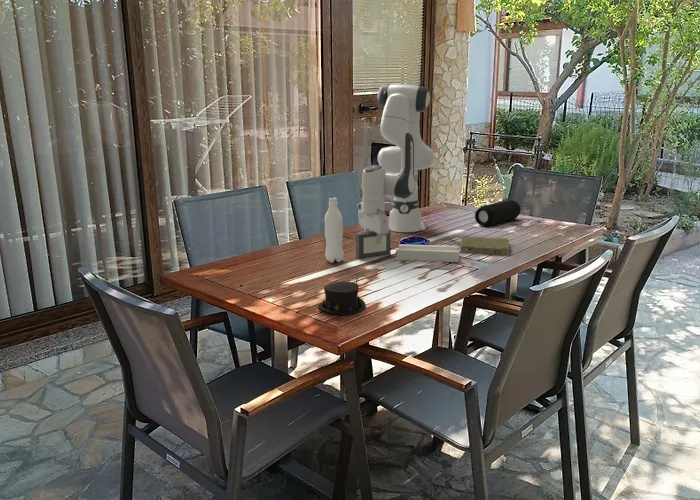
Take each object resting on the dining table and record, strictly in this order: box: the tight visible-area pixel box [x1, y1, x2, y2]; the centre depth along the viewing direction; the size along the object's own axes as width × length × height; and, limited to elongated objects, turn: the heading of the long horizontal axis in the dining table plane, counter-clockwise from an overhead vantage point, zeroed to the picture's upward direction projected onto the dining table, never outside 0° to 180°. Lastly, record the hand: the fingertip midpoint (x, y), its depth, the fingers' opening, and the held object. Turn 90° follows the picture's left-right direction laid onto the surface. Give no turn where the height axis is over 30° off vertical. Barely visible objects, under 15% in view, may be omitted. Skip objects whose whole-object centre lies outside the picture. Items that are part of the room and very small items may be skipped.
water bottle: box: [323, 197, 345, 263], centre depth 242 cm, size 7×7×25 cm
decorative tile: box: [459, 235, 510, 256], centre depth 259 cm, size 19×20×4 cm
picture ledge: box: [396, 243, 460, 263], centre depth 247 cm, size 9×24×4 cm, turn 79°
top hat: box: [317, 274, 367, 316], centre depth 194 cm, size 15×15×10 cm
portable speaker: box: [474, 199, 522, 227], centre depth 303 cm, size 26×10×10 cm, turn 130°
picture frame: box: [355, 230, 392, 260], centre depth 250 cm, size 3×14×10 cm, turn 114°
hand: (373, 241), depth 250 cm, fingers open, 8 cm apart
